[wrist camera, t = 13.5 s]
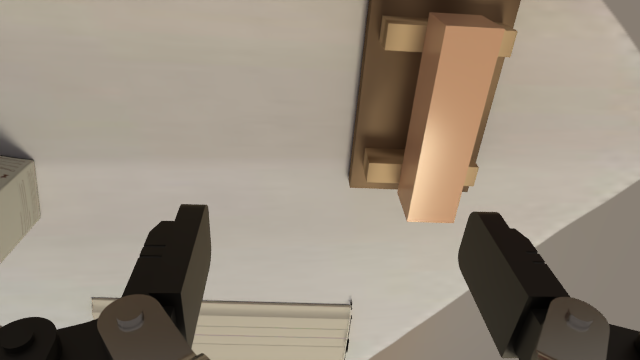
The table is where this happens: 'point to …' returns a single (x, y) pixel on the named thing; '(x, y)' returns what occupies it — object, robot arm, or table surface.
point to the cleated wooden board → (407, 82)
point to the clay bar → (447, 113)
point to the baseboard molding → (266, 330)
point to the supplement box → (16, 202)
